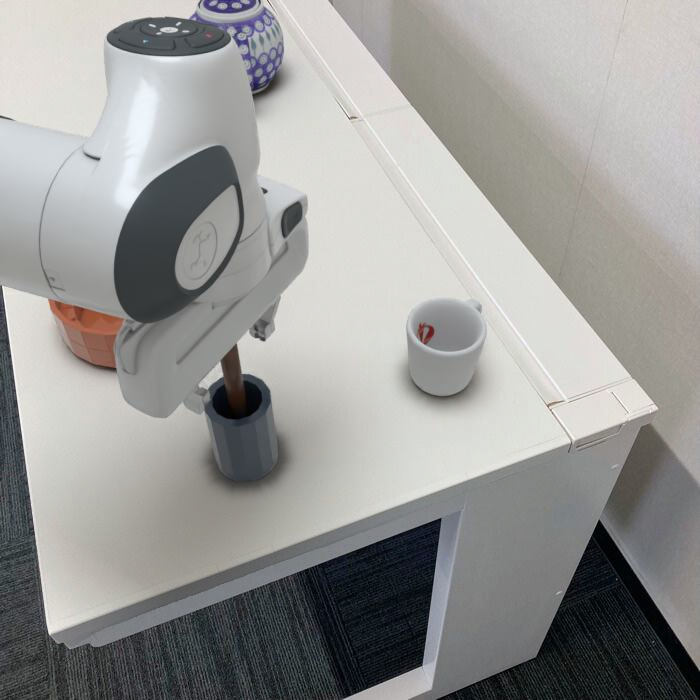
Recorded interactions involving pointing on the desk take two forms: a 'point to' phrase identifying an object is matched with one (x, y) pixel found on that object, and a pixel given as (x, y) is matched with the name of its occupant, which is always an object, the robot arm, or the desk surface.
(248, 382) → the crock
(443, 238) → the desk surface
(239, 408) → the stick
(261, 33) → the teapot
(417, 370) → the cup
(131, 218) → the robot arm
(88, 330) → the bowl
